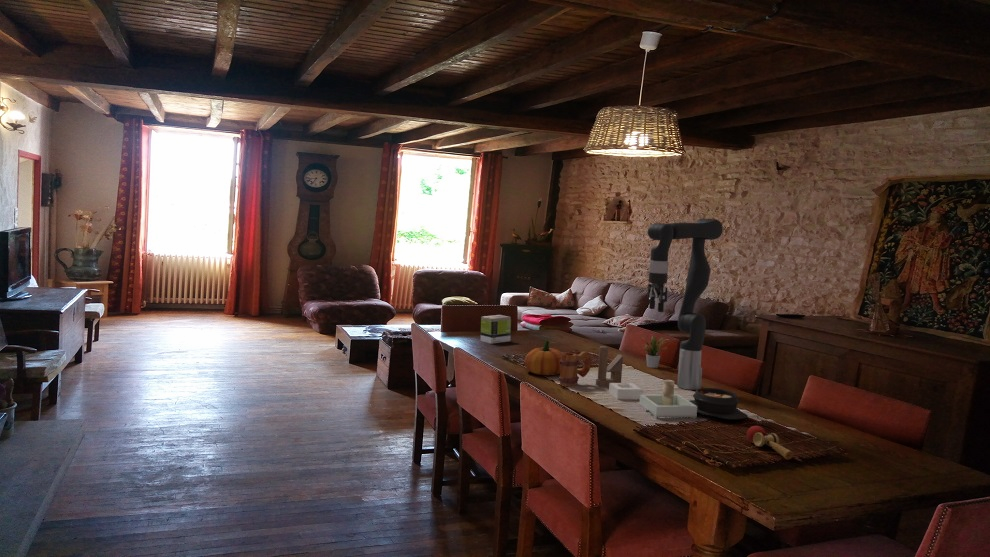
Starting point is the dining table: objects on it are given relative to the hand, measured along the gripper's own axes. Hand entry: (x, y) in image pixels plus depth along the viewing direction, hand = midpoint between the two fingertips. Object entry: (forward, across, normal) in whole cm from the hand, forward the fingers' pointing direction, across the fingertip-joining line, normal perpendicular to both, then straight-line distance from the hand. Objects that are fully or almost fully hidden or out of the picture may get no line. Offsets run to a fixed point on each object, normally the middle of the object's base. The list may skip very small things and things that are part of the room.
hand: (656, 310), depth 270 cm
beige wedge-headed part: (+36, +11, +15) cm, 40 cm away
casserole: (+36, -29, -13) cm, 48 cm away
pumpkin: (+36, +37, +37) cm, 63 cm away
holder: (+35, -6, +14) cm, 39 cm away
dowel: (+34, -25, +5) cm, 43 cm away
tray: (+35, -25, +4) cm, 44 cm away
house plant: (+36, +49, -23) cm, 65 cm away
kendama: (+36, -67, -12) cm, 77 cm away
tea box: (+36, +113, +47) cm, 128 cm away
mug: (+36, +13, +30) cm, 48 cm away
